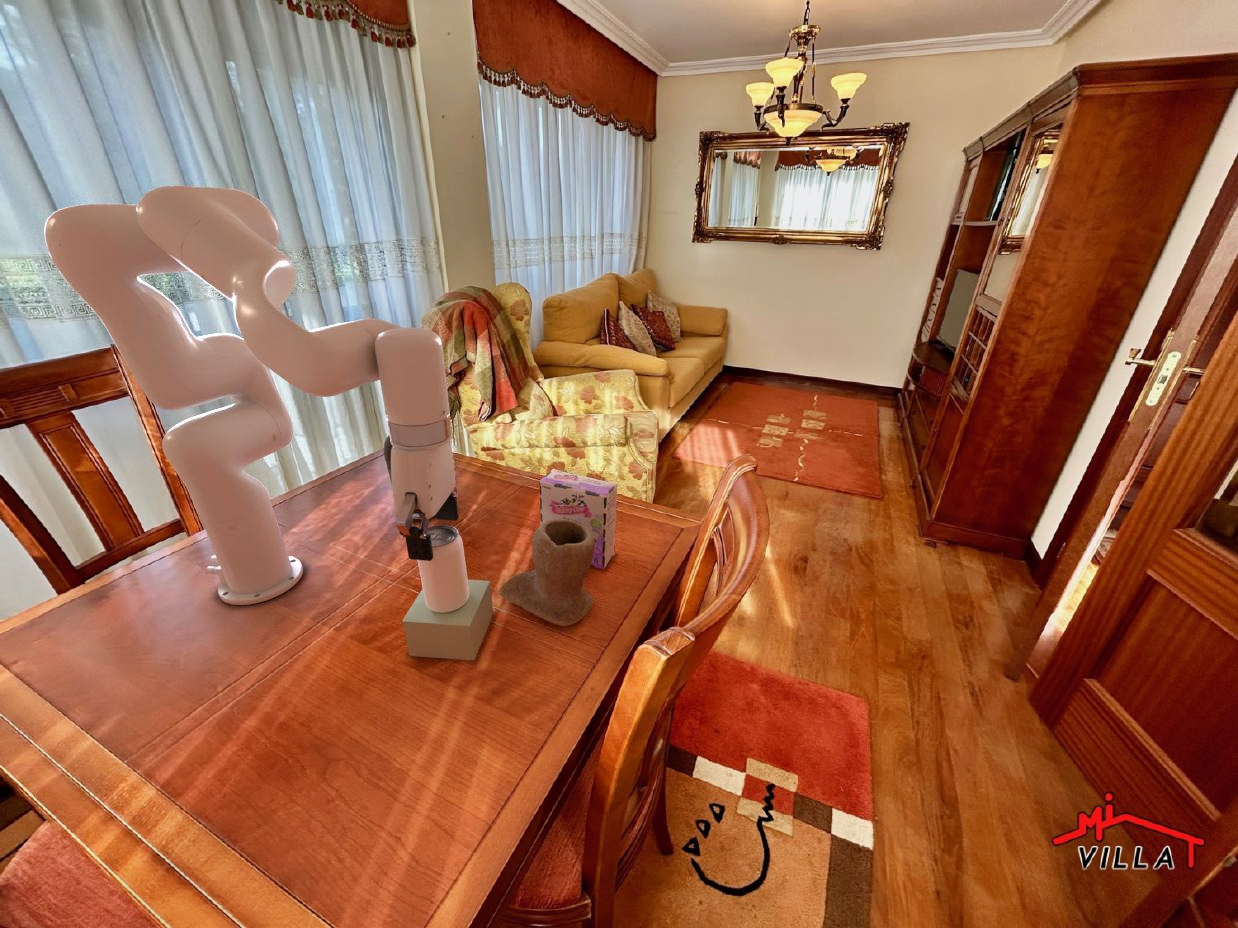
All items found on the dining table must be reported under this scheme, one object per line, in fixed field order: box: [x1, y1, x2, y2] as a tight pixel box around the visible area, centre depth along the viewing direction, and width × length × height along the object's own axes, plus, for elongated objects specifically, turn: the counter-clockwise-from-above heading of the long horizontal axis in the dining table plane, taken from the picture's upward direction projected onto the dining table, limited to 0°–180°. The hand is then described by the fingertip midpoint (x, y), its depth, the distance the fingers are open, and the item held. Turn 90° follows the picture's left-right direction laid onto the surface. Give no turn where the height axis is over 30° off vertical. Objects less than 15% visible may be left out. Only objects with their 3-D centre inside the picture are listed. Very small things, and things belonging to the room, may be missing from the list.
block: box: [401, 579, 494, 661], centre depth 78 cm, size 10×10×7 cm
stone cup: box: [498, 519, 595, 627], centre depth 84 cm, size 15×12×15 cm
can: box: [417, 523, 469, 613], centre depth 74 cm, size 6×6×12 cm
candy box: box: [538, 468, 618, 570], centre depth 96 cm, size 14×6×16 cm, turn 68°
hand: (435, 537), depth 72 cm, fingers open, 9 cm apart
